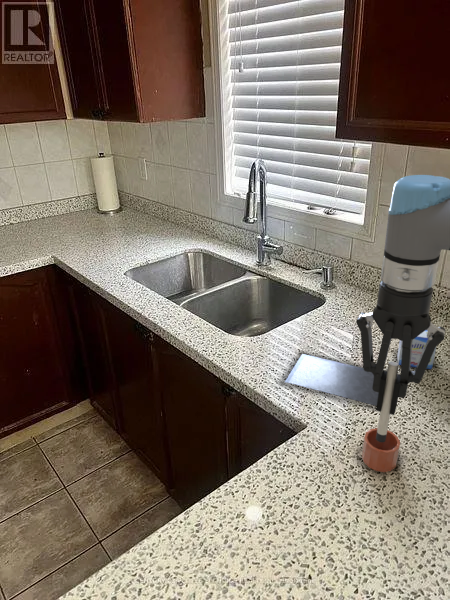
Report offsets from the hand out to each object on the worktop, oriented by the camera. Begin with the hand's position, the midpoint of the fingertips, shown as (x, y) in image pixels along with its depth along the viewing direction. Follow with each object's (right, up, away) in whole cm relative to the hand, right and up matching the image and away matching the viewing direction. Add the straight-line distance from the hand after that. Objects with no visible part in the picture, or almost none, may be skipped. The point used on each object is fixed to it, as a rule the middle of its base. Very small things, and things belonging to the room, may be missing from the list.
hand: (386, 407), depth 77 cm
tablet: (-1, -1, +28) cm, 28 cm away
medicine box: (+19, +3, +34) cm, 39 cm away
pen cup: (+1, -12, +6) cm, 13 cm away
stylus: (0, -6, +1) cm, 6 cm away
